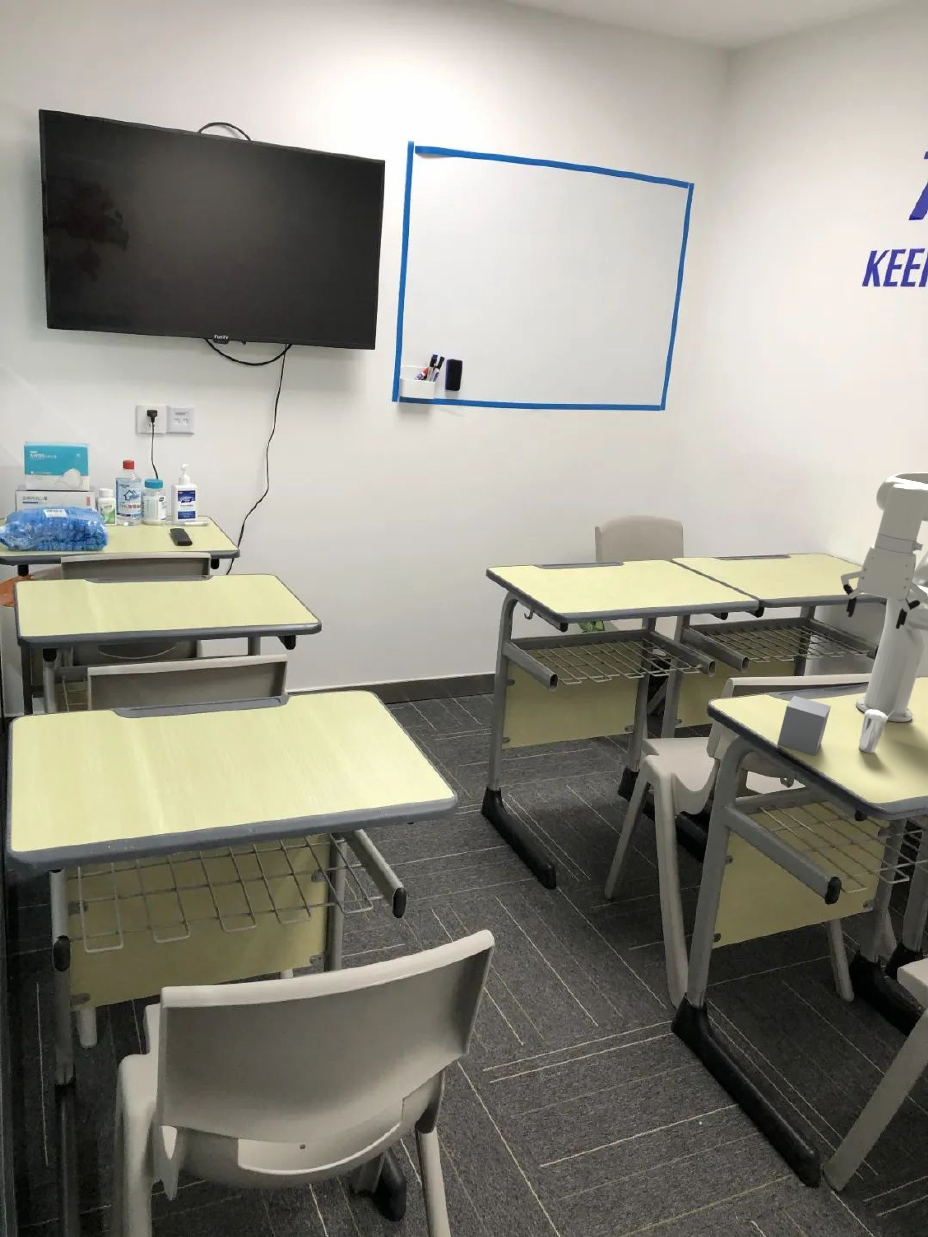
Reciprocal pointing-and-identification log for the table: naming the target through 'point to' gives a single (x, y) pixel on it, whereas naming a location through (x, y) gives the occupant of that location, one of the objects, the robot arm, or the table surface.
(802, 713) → the grey cube
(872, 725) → the milkshake
